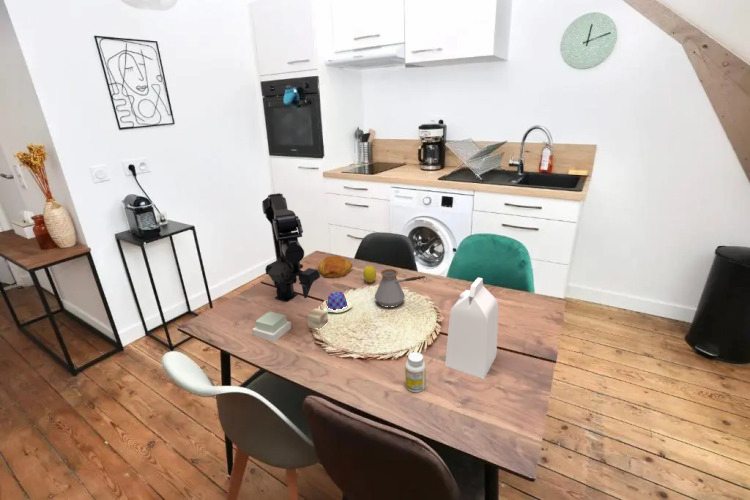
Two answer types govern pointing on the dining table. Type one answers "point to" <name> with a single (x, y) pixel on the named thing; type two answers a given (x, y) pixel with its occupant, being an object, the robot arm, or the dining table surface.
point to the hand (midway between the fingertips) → (294, 295)
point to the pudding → (336, 301)
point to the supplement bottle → (415, 372)
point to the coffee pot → (391, 288)
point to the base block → (272, 336)
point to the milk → (473, 331)
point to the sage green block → (271, 322)
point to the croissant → (334, 267)
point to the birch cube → (317, 318)
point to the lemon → (369, 274)
